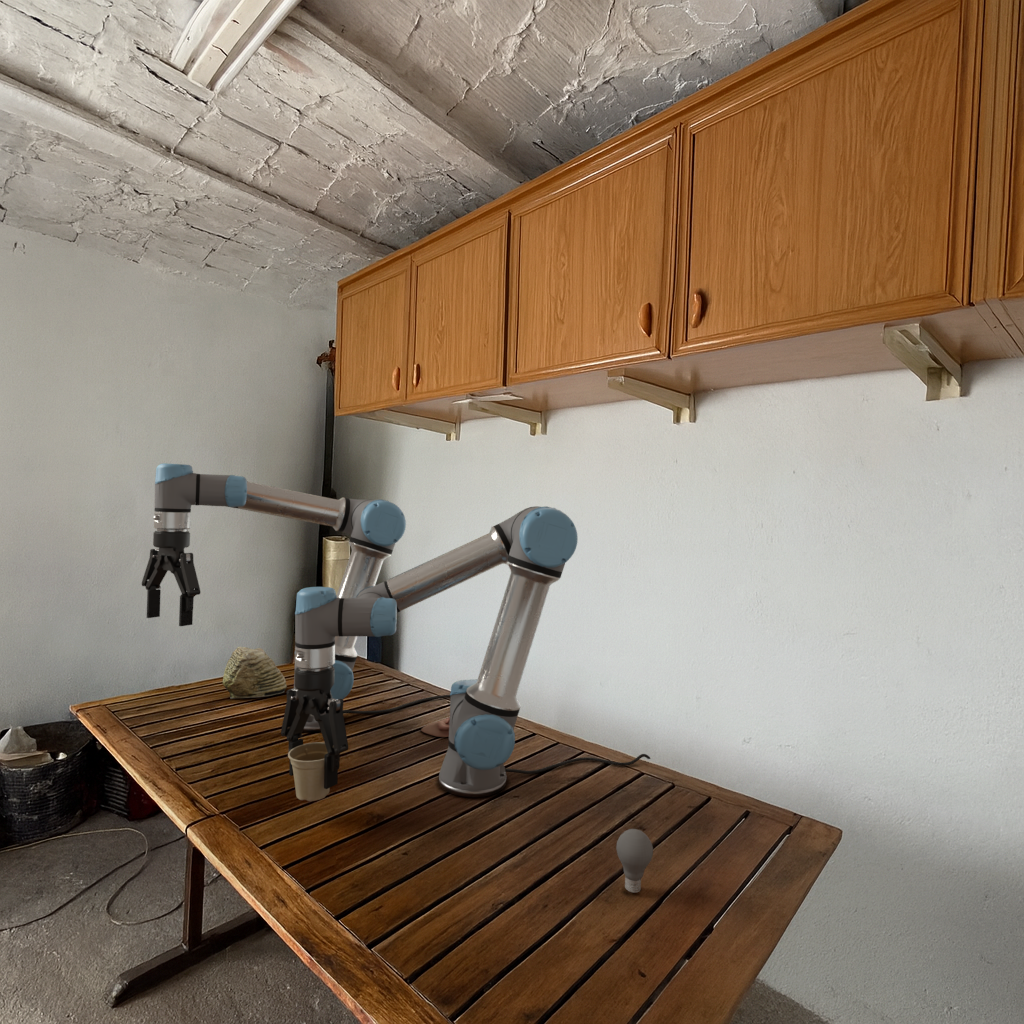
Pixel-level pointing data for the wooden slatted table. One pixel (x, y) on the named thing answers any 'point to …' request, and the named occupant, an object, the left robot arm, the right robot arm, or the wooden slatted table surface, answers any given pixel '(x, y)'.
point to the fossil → (252, 674)
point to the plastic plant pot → (309, 770)
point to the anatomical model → (438, 728)
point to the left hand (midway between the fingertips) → (169, 621)
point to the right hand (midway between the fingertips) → (313, 779)
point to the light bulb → (634, 857)
